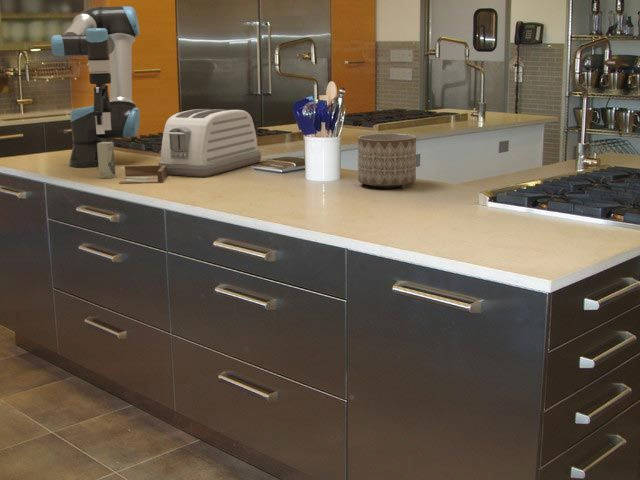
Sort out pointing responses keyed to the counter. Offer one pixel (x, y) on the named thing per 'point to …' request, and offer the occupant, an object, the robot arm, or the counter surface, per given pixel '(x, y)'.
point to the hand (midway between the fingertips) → (104, 132)
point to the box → (106, 159)
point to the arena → (144, 174)
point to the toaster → (208, 142)
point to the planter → (387, 159)
